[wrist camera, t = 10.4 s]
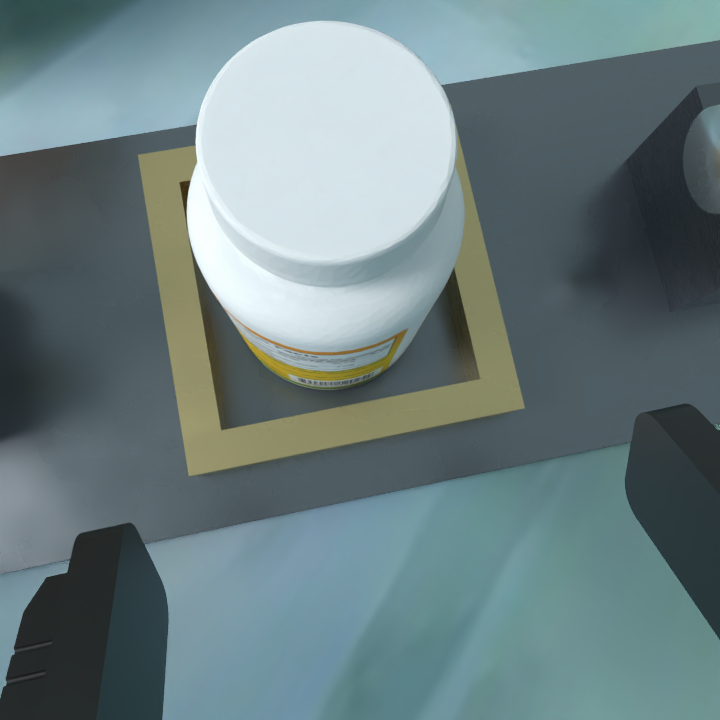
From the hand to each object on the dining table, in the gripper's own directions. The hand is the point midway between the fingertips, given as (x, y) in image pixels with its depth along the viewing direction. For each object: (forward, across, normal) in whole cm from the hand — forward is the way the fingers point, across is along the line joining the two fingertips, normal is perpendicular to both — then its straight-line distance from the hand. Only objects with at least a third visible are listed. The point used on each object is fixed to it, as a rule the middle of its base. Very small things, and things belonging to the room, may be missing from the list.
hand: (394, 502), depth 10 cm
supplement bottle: (+10, 0, +2) cm, 10 cm away
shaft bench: (+11, 0, +2) cm, 11 cm away
